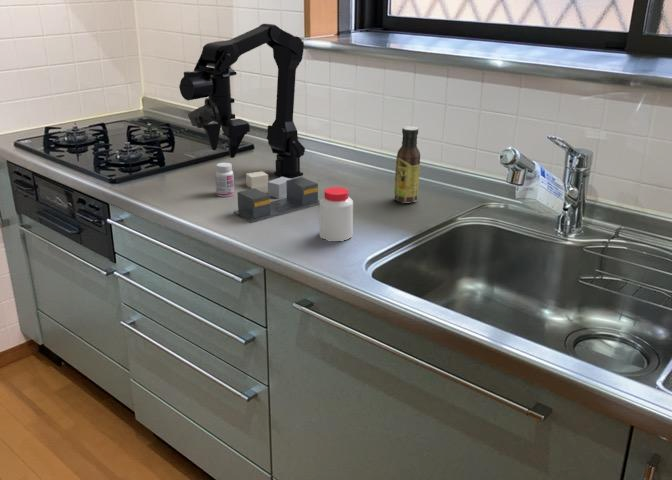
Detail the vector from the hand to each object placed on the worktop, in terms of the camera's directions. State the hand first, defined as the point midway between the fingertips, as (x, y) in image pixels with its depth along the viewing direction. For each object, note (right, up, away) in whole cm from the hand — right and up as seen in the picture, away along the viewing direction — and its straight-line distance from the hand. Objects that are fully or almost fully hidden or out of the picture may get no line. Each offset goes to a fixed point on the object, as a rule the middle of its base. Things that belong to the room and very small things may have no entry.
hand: (223, 153), depth 179 cm
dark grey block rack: (+15, -15, -5) cm, 22 cm away
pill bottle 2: (+30, -22, -22) cm, 43 cm away
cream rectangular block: (+8, -8, +12) cm, 16 cm away
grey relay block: (+15, -10, +5) cm, 19 cm away
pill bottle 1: (0, -11, +4) cm, 12 cm away
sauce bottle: (+49, -13, +1) cm, 50 cm away
